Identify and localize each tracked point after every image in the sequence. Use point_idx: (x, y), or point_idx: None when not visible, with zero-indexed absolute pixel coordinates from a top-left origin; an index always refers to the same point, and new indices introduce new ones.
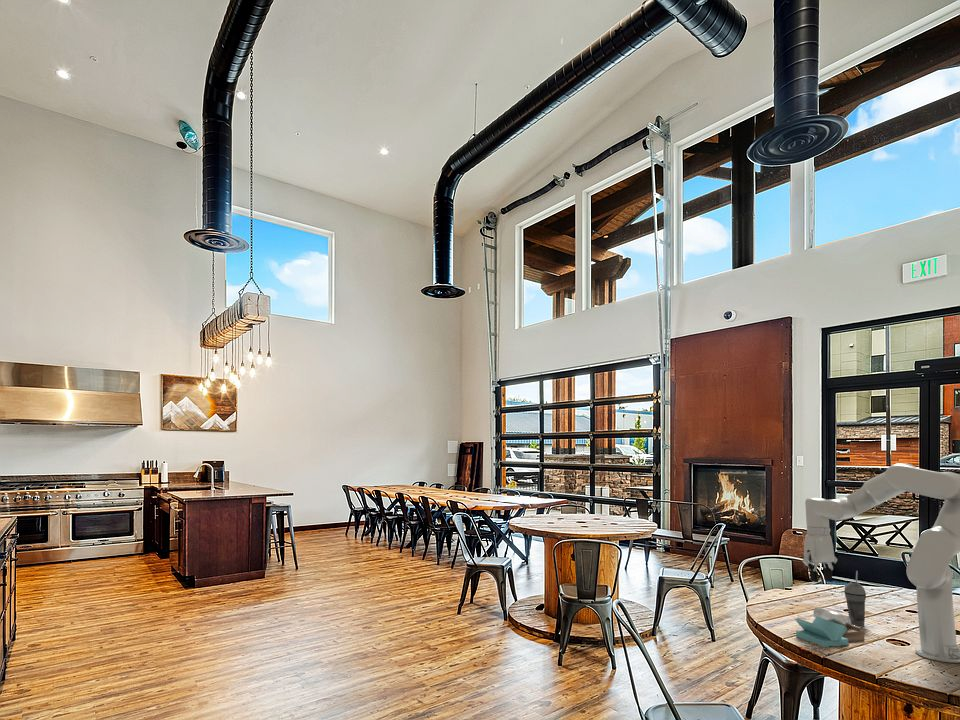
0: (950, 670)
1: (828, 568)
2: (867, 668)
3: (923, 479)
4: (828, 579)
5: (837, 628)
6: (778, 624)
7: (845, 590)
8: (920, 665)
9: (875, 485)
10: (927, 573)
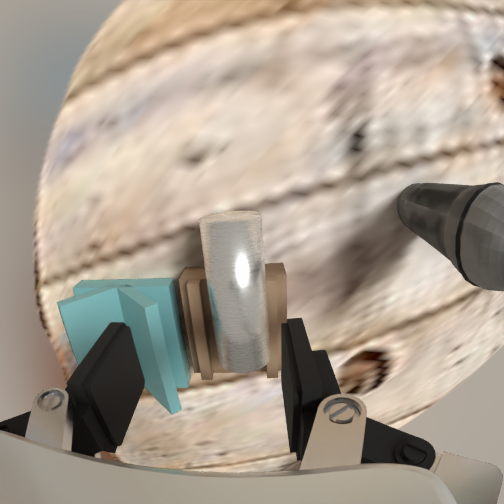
0: None
1: (303, 456)
2: (132, 456)
3: None
4: (281, 372)
5: (158, 391)
6: (102, 140)
7: (471, 221)
8: (251, 470)
9: None
10: None
